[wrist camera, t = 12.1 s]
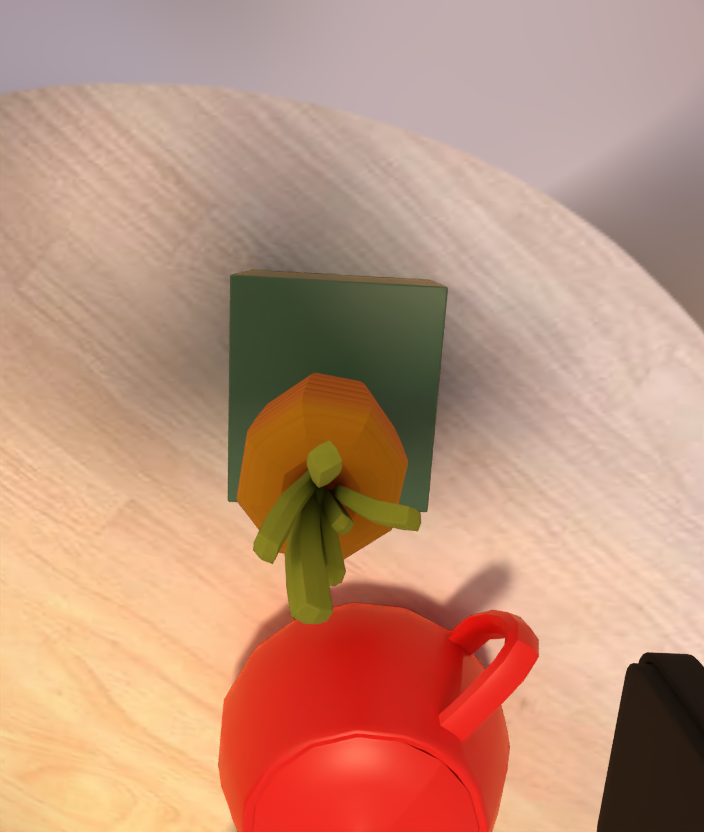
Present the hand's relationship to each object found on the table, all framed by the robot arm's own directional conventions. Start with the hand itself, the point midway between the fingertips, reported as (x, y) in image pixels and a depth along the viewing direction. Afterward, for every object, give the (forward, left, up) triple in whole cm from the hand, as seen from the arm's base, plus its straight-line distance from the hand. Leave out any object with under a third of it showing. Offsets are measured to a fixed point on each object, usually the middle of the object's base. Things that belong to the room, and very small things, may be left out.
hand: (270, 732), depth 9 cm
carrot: (0, 0, -21) cm, 21 cm away
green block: (0, 0, -26) cm, 26 cm away
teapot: (+20, +2, -27) cm, 33 cm away
